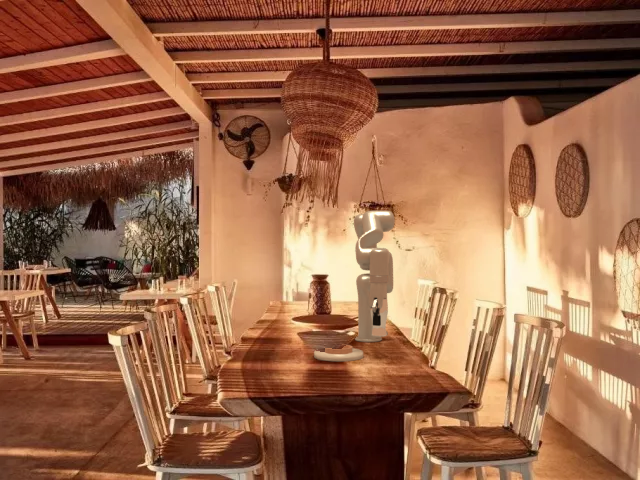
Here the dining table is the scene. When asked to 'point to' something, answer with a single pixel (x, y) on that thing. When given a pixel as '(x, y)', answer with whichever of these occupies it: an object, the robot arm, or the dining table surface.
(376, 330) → the beer glass
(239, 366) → the dining table surface
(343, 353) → the white plate
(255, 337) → the dining table surface
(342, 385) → the dining table surface
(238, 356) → the dining table surface
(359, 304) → the robot arm
